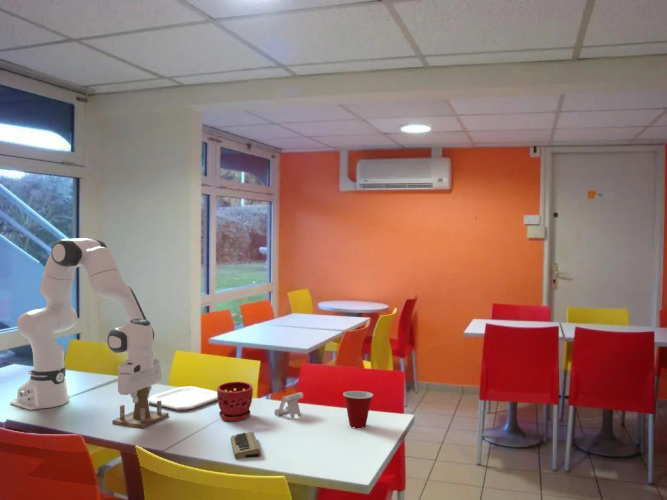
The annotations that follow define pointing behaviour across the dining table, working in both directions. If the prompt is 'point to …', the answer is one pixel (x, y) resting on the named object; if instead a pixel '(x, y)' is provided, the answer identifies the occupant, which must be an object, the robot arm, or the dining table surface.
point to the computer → (245, 445)
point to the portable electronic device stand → (290, 405)
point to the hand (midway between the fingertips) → (141, 400)
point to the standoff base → (137, 422)
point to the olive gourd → (142, 404)
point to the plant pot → (234, 400)
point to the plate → (184, 398)
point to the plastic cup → (357, 407)
